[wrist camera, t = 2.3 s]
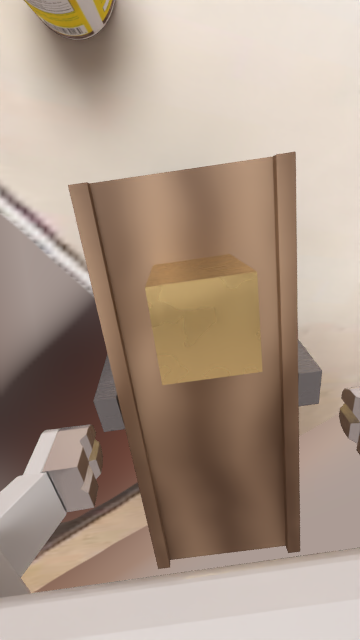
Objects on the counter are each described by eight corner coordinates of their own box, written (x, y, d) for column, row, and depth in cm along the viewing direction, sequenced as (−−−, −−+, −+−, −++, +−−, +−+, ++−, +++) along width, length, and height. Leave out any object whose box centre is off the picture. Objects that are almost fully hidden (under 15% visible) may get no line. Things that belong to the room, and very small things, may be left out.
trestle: (283, 174, 24) (351, 180, 16) (279, 354, 32) (322, 427, 24) (74, 204, 25) (24, 227, 16) (121, 376, 33) (105, 455, 24)
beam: (276, 161, 19) (295, 151, 16) (287, 518, 28) (300, 551, 26) (83, 189, 19) (67, 185, 16) (159, 533, 29) (158, 568, 26)
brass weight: (230, 254, 18) (257, 271, 12) (236, 326, 20) (262, 371, 14) (153, 264, 18) (144, 287, 12) (164, 336, 20) (162, 385, 14)
